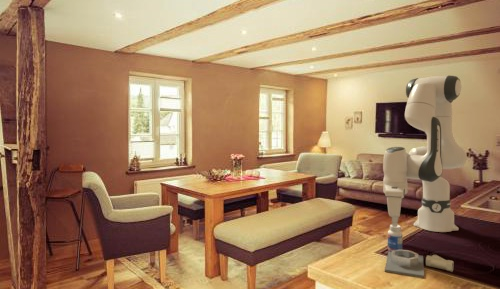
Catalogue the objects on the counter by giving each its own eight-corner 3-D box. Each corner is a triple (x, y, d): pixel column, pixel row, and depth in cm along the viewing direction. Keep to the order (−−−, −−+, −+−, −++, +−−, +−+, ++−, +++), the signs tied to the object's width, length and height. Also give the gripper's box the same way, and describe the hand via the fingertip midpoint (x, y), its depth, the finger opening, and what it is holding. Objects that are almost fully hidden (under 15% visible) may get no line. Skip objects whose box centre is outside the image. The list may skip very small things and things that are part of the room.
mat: (388, 253, 134) (388, 251, 134) (423, 257, 129) (423, 255, 129) (384, 271, 118) (384, 269, 118) (424, 278, 112) (424, 275, 112)
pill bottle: (384, 248, 139) (384, 225, 138) (393, 246, 141) (393, 222, 141) (396, 253, 134) (396, 228, 133) (405, 250, 136) (405, 226, 136)
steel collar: (392, 256, 129) (392, 248, 129) (418, 259, 125) (418, 251, 125) (390, 265, 121) (391, 256, 121) (418, 269, 117) (418, 260, 117)
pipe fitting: (430, 262, 126) (425, 267, 121) (430, 252, 126) (425, 256, 121) (455, 268, 121) (451, 273, 116) (455, 257, 121) (451, 262, 116)
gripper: (388, 184, 146) (388, 216, 147) (384, 192, 128) (385, 229, 128) (404, 185, 144) (404, 218, 144) (403, 193, 125) (403, 230, 126)
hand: (395, 223), depth 136 cm, fingers open, 8 cm apart
